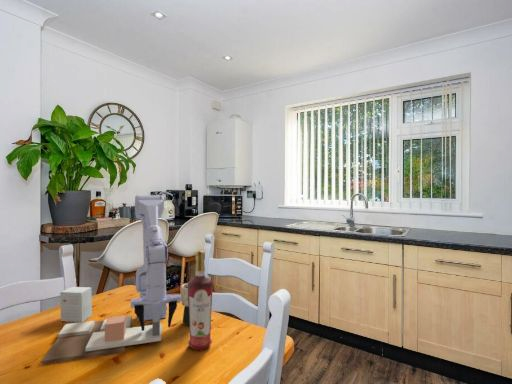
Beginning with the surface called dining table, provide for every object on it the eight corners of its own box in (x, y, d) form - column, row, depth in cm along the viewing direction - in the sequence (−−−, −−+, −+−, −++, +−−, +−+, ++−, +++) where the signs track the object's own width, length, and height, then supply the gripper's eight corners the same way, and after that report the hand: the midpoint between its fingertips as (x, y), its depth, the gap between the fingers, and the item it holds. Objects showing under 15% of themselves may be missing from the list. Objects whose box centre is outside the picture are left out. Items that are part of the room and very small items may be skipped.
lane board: (132, 320, 103) (132, 314, 103) (124, 352, 83) (124, 345, 83) (67, 328, 97) (67, 322, 97) (41, 364, 77) (41, 357, 77)
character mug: (193, 331, 95) (193, 291, 95) (174, 328, 97) (174, 289, 97) (208, 317, 106) (208, 281, 105) (190, 314, 108) (190, 279, 107)
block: (125, 331, 91) (125, 315, 90) (123, 339, 86) (123, 322, 86) (108, 333, 89) (108, 317, 89) (104, 341, 84) (104, 324, 84)
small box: (92, 315, 107) (92, 287, 106) (81, 322, 101) (81, 292, 101) (71, 314, 107) (71, 286, 107) (60, 321, 102) (59, 291, 102)
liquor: (188, 354, 82) (187, 255, 82) (186, 341, 89) (186, 249, 89) (214, 350, 84) (214, 253, 83) (211, 338, 91) (211, 248, 91)
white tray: (161, 326, 96) (161, 311, 95) (161, 340, 87) (161, 323, 87) (93, 335, 90) (93, 319, 90) (85, 351, 81) (85, 333, 81)
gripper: (129, 290, 85) (129, 337, 85) (181, 285, 89) (181, 330, 89) (131, 282, 91) (132, 326, 92) (179, 278, 96) (179, 319, 96)
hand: (156, 327), depth 91 cm, fingers open, 7 cm apart
